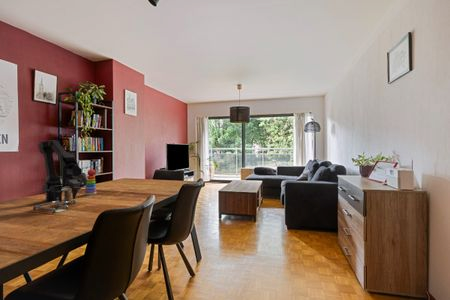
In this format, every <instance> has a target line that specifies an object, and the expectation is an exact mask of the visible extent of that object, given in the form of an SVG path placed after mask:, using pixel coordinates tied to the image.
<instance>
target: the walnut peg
mask: <svg viewBox="0 0 450 300" xmlns="http://www.w3.org/2000/svg"><path fill="white" fill-rule="evenodd" d="M63 192H64V194H63V195H64V197H63V200H64V201H63V202H67V201H72V200H71V199H72V198H71V194H72V190H64V191H63ZM71 203H72V202H70V203H65V204H64V205H70V204H71Z"/></svg>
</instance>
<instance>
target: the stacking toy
mask: <svg viewBox="0 0 450 300" xmlns="http://www.w3.org/2000/svg"><path fill="white" fill-rule="evenodd" d="M86 173H87V176H86V178H87V179H86V182H85V183H86V184H85V186H84V187H85V189H84V192H83V193H84V195H85V196H94V195H96V194H97V185H96V182H97V181H96V176H95V174H96V170H95V169H93V168H91V169H89V170H88V171H87V172H86Z"/></svg>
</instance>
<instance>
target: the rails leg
mask: <svg viewBox="0 0 450 300" xmlns="http://www.w3.org/2000/svg"><path fill="white" fill-rule="evenodd" d="M54 205H55V206H57V207H62V208H65V210H66V211H68V210H69V205H68V204H61V205H60V204H58V203H54ZM33 206H34V207H36V209H43V210H50V211H53V212H52V214H56V213H57V212H56V210H57V208H53V207H46V206H35V204H34V205H33Z"/></svg>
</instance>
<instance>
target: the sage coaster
mask: <svg viewBox="0 0 450 300" xmlns="http://www.w3.org/2000/svg"><path fill="white" fill-rule="evenodd" d="M66 211H67V210H66V208H65V209H64V208H59V209H56V213H62V212H66ZM51 212H52V213H53V210H51Z"/></svg>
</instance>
